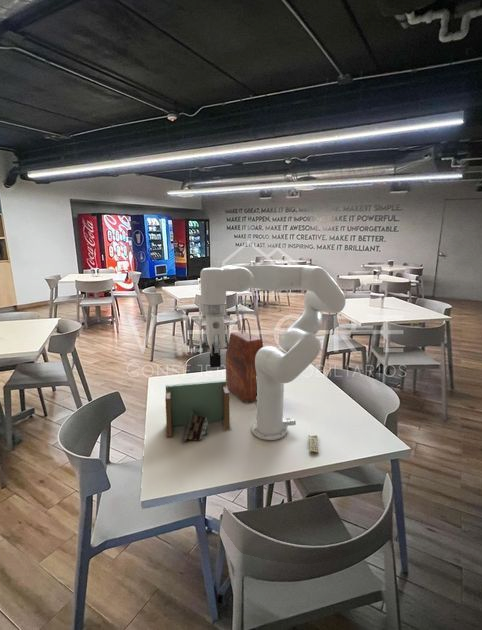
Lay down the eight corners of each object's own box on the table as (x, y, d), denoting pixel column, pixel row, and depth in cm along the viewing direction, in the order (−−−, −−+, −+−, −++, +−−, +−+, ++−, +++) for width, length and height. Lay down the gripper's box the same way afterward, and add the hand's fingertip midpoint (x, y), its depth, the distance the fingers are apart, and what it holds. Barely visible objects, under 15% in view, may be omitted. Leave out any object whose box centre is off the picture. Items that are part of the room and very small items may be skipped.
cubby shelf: (226, 417, 130) (225, 380, 127) (229, 429, 122) (229, 389, 119) (167, 424, 125) (165, 385, 122) (167, 437, 116) (165, 395, 113)
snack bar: (319, 452, 108) (310, 449, 108) (317, 456, 108) (308, 452, 108) (317, 435, 117) (309, 432, 117) (315, 438, 118) (308, 435, 118)
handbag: (245, 404, 141) (246, 323, 134) (225, 387, 158) (225, 315, 150) (266, 398, 147) (268, 321, 140) (245, 383, 163) (245, 312, 156)
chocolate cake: (204, 445, 113) (212, 410, 119) (183, 440, 112) (193, 406, 118) (200, 450, 120) (209, 417, 127) (181, 445, 119) (190, 413, 126)
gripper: (230, 313, 95) (231, 374, 99) (222, 304, 109) (223, 357, 113) (203, 314, 93) (205, 376, 97) (199, 305, 107) (201, 359, 111)
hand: (215, 366), depth 105 cm, fingers closed
